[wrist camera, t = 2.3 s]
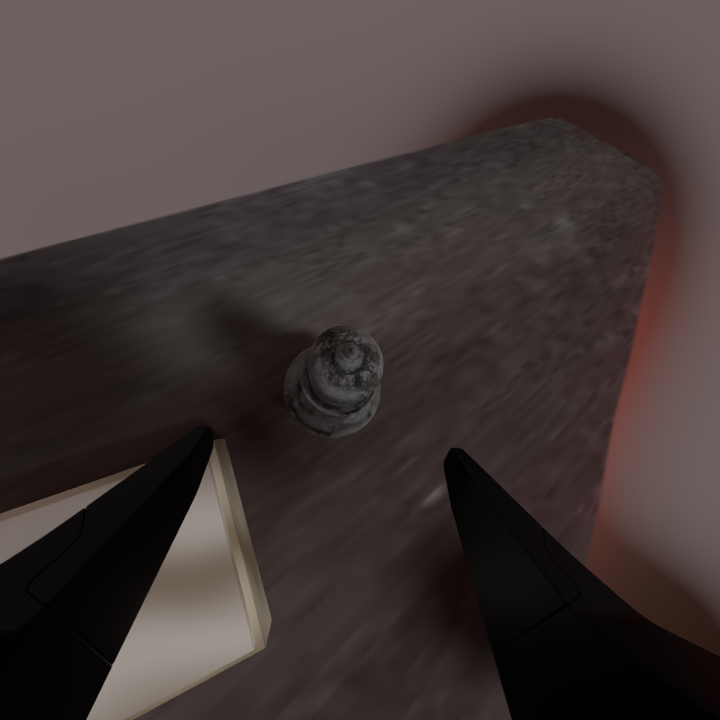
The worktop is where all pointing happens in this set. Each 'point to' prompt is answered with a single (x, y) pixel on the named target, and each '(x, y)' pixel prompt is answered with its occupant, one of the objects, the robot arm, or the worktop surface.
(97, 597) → the robot arm
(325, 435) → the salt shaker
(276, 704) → the worktop surface
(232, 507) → the wooden tray
